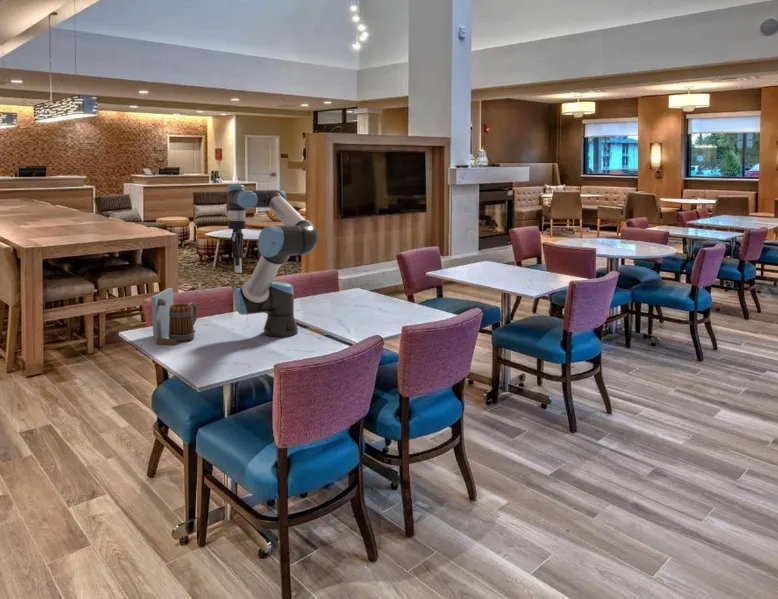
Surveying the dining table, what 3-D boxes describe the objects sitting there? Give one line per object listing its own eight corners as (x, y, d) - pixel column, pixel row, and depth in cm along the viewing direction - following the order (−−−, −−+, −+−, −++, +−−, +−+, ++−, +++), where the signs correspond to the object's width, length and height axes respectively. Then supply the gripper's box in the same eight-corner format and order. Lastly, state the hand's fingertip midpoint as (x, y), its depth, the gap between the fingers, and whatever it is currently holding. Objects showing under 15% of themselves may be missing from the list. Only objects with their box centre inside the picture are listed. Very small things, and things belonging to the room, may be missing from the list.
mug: (183, 344, 262) (181, 309, 259) (163, 340, 266) (161, 306, 263) (207, 335, 276) (205, 302, 273) (187, 332, 280) (186, 299, 277)
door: (180, 331, 281) (178, 287, 277) (163, 344, 262) (160, 297, 257) (171, 331, 281) (169, 287, 277) (153, 343, 262) (151, 296, 258)
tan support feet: (193, 331, 282) (193, 326, 282) (176, 345, 260) (175, 339, 260) (176, 330, 282) (175, 325, 282) (157, 344, 260) (156, 338, 260)
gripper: (232, 218, 285) (233, 269, 290) (224, 220, 272) (225, 274, 277) (248, 218, 284) (249, 270, 289) (241, 221, 272) (242, 274, 277)
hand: (238, 272), depth 283 cm, fingers closed
